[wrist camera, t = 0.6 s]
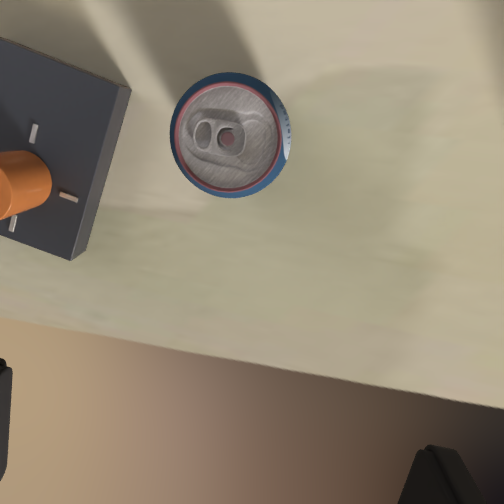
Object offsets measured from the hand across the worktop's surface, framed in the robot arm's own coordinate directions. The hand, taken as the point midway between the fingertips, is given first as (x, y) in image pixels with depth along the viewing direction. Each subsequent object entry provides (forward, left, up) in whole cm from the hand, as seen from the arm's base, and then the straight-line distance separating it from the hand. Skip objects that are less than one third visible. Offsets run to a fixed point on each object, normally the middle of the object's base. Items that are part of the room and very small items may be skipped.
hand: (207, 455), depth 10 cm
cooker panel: (+1, -17, -28) cm, 33 cm away
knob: (+3, -17, -25) cm, 30 cm away
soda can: (-6, -3, -28) cm, 29 cm away
